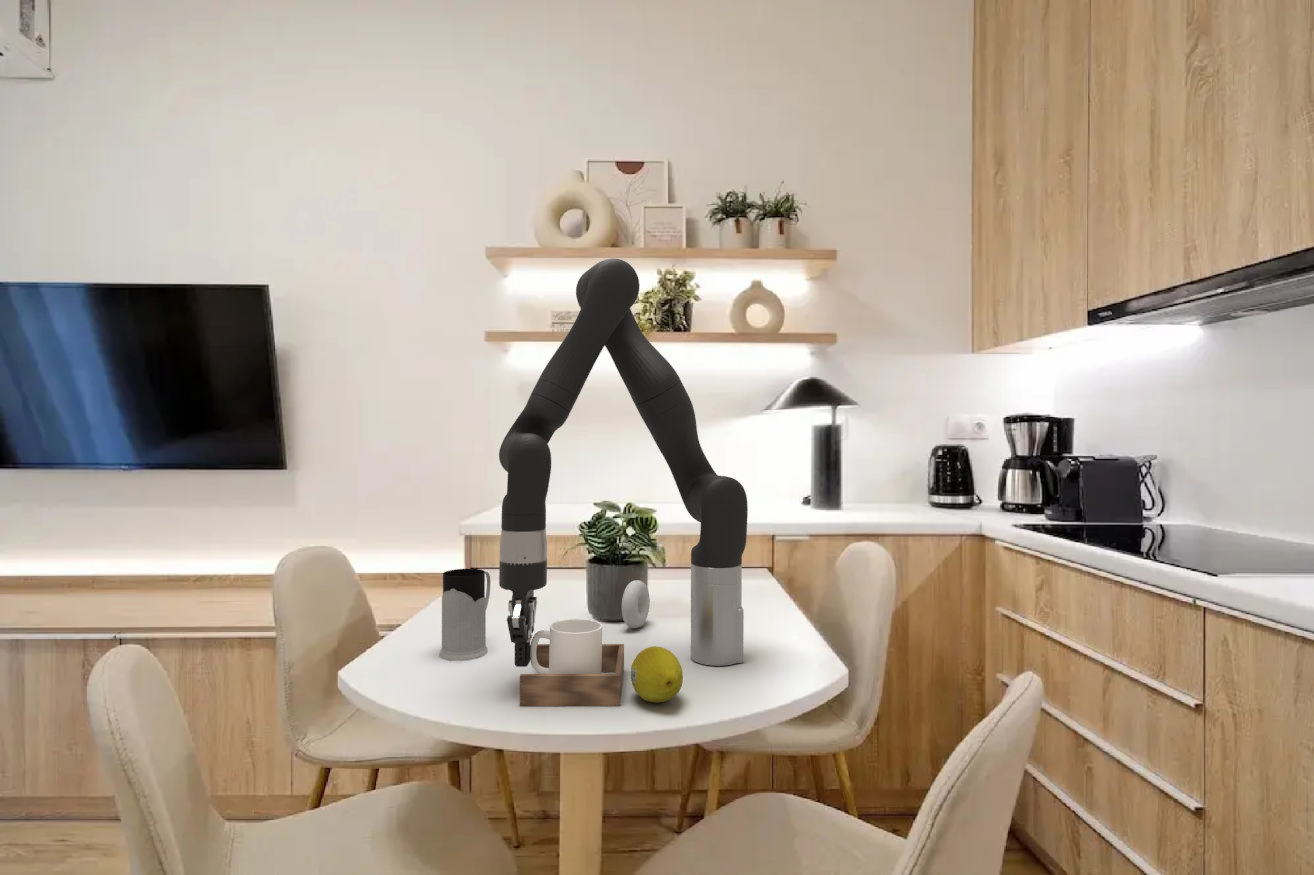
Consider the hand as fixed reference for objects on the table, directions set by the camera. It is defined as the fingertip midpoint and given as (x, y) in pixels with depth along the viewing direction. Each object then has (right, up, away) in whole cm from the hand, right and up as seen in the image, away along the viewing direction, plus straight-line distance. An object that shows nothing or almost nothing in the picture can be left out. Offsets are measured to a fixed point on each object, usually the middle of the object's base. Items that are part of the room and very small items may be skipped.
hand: (522, 664), depth 109 cm
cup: (+7, -4, -1) cm, 8 cm away
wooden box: (+9, -4, 0) cm, 9 cm away
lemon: (+22, -4, -6) cm, 23 cm away
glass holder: (-14, -4, +20) cm, 24 cm away
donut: (+17, -4, +34) cm, 38 cm away
